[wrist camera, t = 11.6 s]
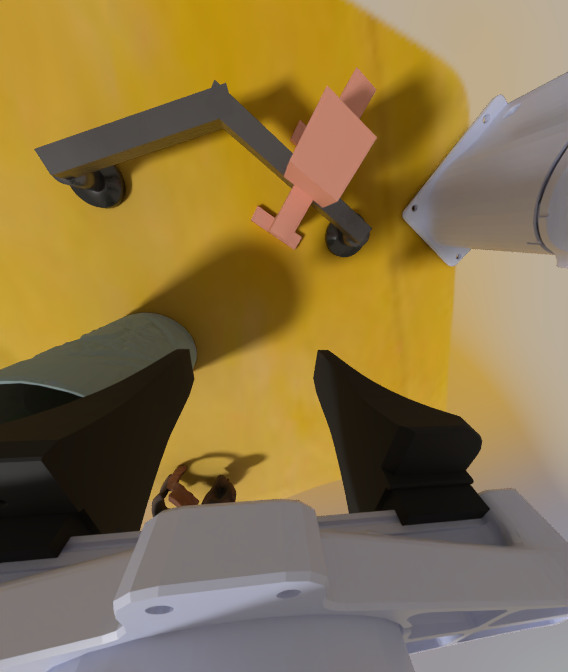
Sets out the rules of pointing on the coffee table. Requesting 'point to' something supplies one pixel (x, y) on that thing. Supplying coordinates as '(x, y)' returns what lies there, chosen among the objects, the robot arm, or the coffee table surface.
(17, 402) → the green tapered cup
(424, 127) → the coffee table surface
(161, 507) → the vr controller
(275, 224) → the pink blocky toy figure
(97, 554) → the robot arm
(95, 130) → the wheeled bent frame
